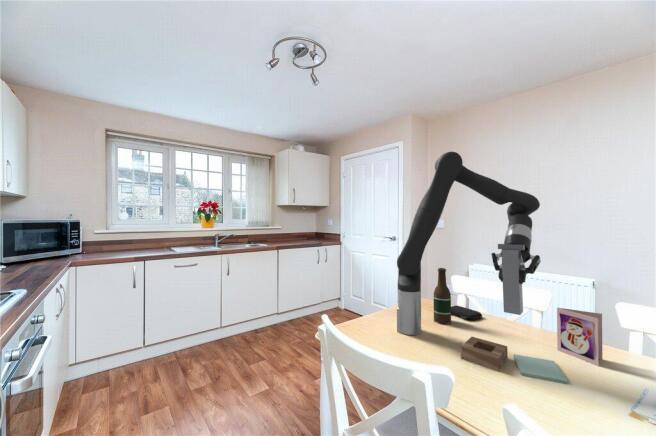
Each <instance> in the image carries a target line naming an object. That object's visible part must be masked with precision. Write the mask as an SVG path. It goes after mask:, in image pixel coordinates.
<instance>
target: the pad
mask: <svg viewBox="0 0 656 436" xmlns="http://www.w3.org/2000/svg"><path fill="white" fill-rule="evenodd" d="M512 357H513V359H514V361H515V364H516V365H517V369H518V371H519V373H520V376H525V377H529V378H536V379H541V380H546V381H550V382H556V383H561V384H565V385H568V384H569V380H568V379H567V377H566V376H565V375H564V373H563V371H562V370H561V368H559V365H558V364H557V363H556V362H555V360H550V359H544V358H539V357H534V356H533V357H532V356H528V355H526V356H525V355H521V354H515V353H514V354H513V355H512Z"/></svg>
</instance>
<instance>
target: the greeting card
mask: <svg viewBox="0 0 656 436" xmlns="http://www.w3.org/2000/svg"><path fill="white" fill-rule="evenodd" d="M556 342H557V343H556V345H557V347H556V348H557V351H559V352H561V353H564V354H566V355H568V356H572V357H574V358H576V359H578V360H581V361H584V362H587V363H590V364H591V365H594V366H597V367H599V360H603V313H600V312H592V311H591V312H590V311H586V310H585V311H584V310H578V309H577V310H576V309H570V308H563V307H556Z"/></svg>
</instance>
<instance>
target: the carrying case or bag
mask: <svg viewBox="0 0 656 436" xmlns="http://www.w3.org/2000/svg"><path fill="white" fill-rule="evenodd" d="M451 314H452V315H451V316H454V315H455V316H454V317H458V318H461V319H463V320H466V321H468V322H470V321H471V322H472V321H476V320H478V319H482V318H483V314H482V313H481V312H479V311H477V310H474V309H470V308H467V307H464V306H461V305H457V304H456V305H451Z"/></svg>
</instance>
